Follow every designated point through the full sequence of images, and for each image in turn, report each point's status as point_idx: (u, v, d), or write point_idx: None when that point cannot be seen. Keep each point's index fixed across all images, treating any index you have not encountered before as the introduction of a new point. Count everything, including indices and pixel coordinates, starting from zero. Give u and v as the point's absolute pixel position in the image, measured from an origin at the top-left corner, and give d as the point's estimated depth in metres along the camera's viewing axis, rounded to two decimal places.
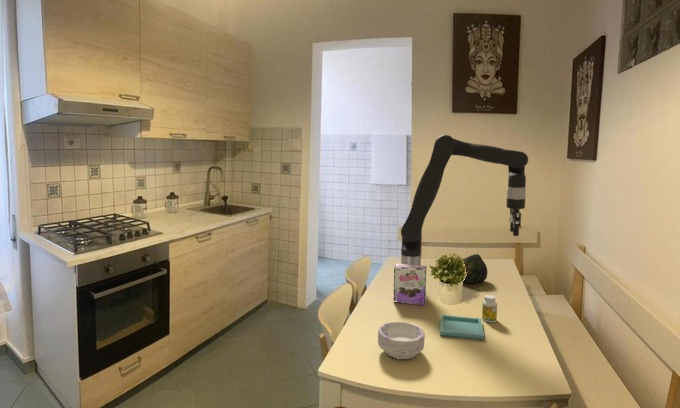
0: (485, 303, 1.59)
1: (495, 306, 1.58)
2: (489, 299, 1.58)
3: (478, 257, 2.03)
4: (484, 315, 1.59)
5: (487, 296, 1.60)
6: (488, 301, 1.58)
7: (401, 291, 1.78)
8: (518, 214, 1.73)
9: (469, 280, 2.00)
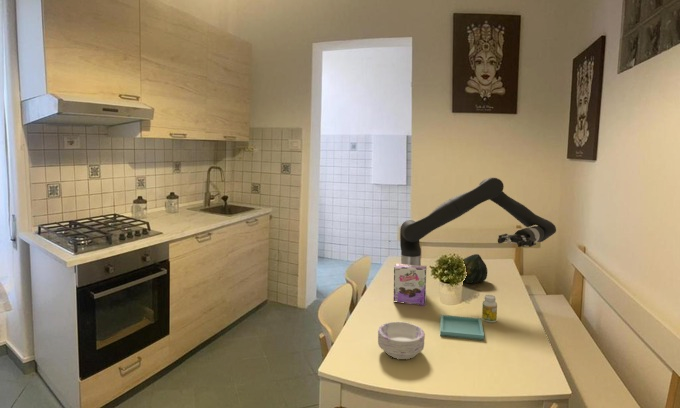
0: (485, 303, 1.59)
1: (495, 306, 1.58)
2: (489, 299, 1.58)
3: (478, 257, 2.03)
4: (484, 315, 1.59)
5: (487, 296, 1.60)
6: (488, 301, 1.58)
7: (401, 291, 1.78)
8: (535, 242, 1.70)
9: (469, 280, 2.00)
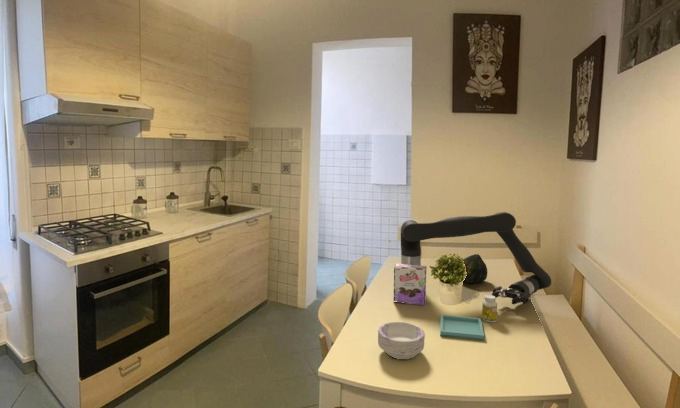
0: (485, 303, 1.59)
1: (495, 306, 1.58)
2: (489, 299, 1.58)
3: (478, 257, 2.03)
4: (484, 315, 1.59)
5: (487, 296, 1.60)
6: (488, 301, 1.58)
7: (401, 291, 1.78)
8: (530, 298, 1.67)
9: (469, 280, 2.00)
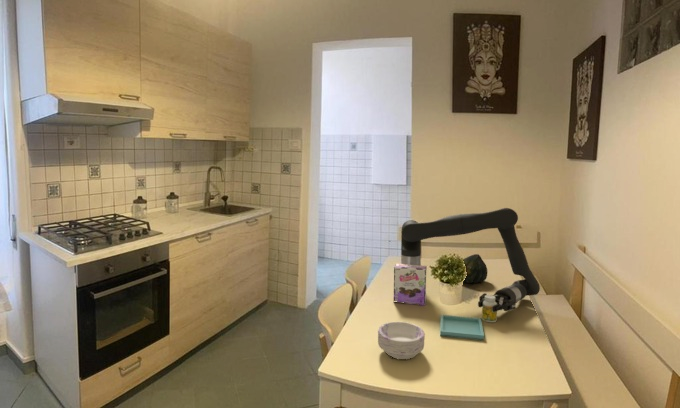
0: (485, 303, 1.59)
1: None
2: (489, 299, 1.58)
3: (478, 257, 2.03)
4: (484, 315, 1.59)
5: (487, 296, 1.60)
6: (488, 301, 1.58)
7: (401, 291, 1.78)
8: (514, 306, 1.59)
9: (469, 280, 2.00)
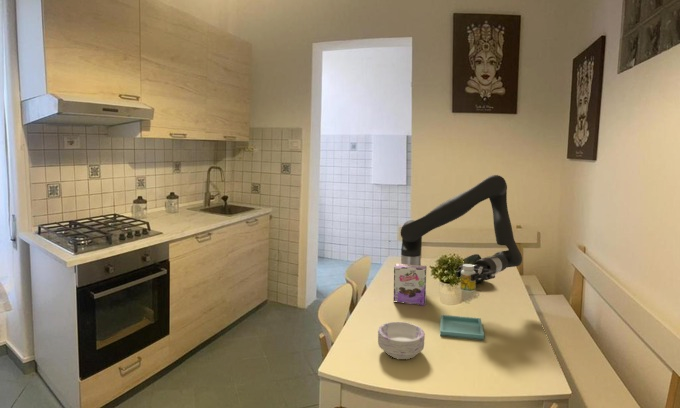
0: (463, 272, 1.50)
1: None
2: (467, 268, 1.49)
3: (478, 257, 2.03)
4: (462, 285, 1.51)
5: (465, 265, 1.51)
6: (466, 270, 1.50)
7: (401, 291, 1.78)
8: (494, 275, 1.51)
9: None
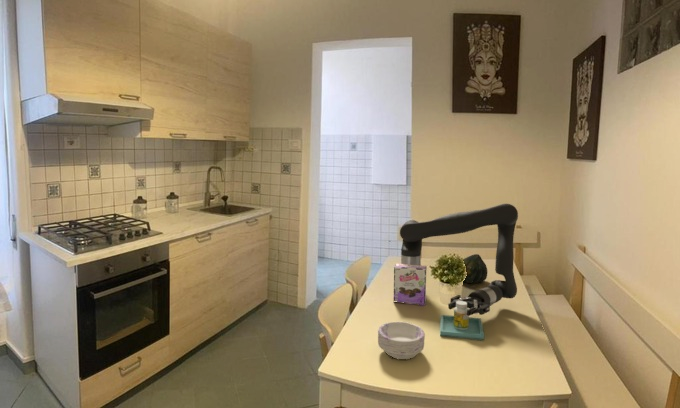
0: (456, 310, 1.51)
1: None
2: (460, 305, 1.50)
3: (478, 257, 2.03)
4: (455, 322, 1.52)
5: (458, 302, 1.52)
6: (459, 308, 1.50)
7: (401, 291, 1.78)
8: (489, 308, 1.52)
9: (469, 280, 2.00)
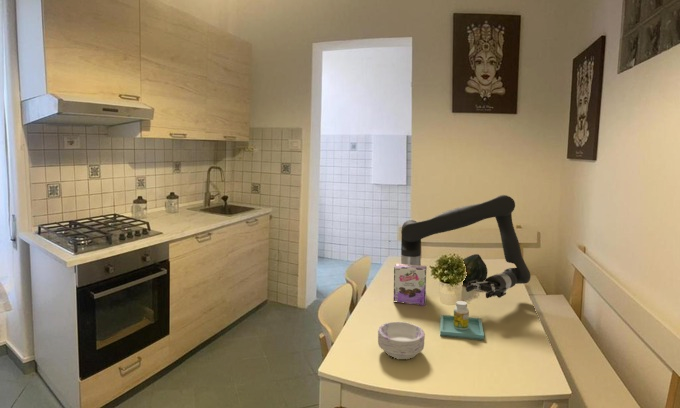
0: (456, 310, 1.51)
1: (466, 313, 1.50)
2: (460, 305, 1.50)
3: (478, 257, 2.03)
4: (455, 322, 1.52)
5: (458, 302, 1.52)
6: (459, 307, 1.50)
7: (401, 291, 1.78)
8: (505, 292, 1.60)
9: (469, 280, 2.00)
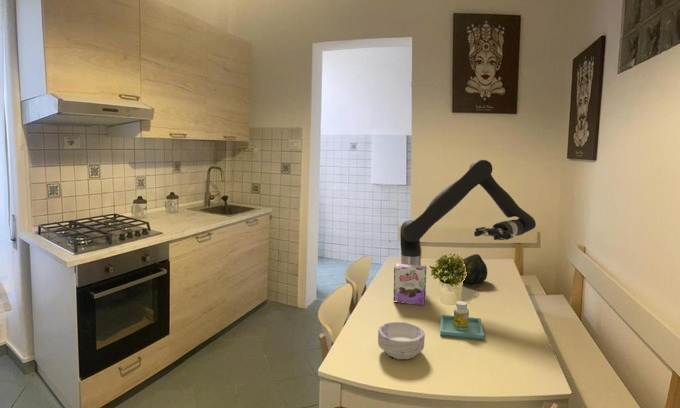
0: (456, 310, 1.51)
1: (467, 313, 1.50)
2: (460, 305, 1.50)
3: (478, 257, 2.03)
4: (455, 322, 1.52)
5: (458, 302, 1.52)
6: (459, 308, 1.50)
7: (401, 291, 1.78)
8: (512, 235, 1.66)
9: (469, 280, 2.00)
